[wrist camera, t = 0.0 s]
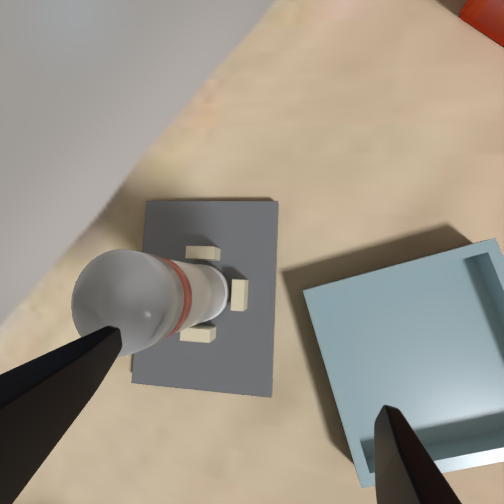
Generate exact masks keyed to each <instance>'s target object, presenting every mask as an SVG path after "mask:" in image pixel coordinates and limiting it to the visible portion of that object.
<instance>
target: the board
mask: <svg viewBox="0 0 504 504" xmlns="http://www.w3.org/2000/svg"><path fill="white" fill-rule="evenodd" d="M278 206H279V204H278V201H147V203H146V215H145V227H144V239H143V251H142V252H143V253H148V254H152V255H155V256H158V257H163V258H166V259H169V260H174V261H180V262H185V263H190V264H202V265H208V266H212V267H215V268H217V269H219V270H220V271H221V272H223V273H224V275H225V276H226V277H227V279H228V281H229V284H230V288H231V296H230V301H229V303H228V306H227V307H226V309H225V310H224V311H223V312H222V313H221V314H220V315H218V316H217V317H215V318H213V319H210V320H208V321H205V322H200V323H198V324H196V325H193V326H191V327H189V328H186V329H184V330H182V331H179V332H177V333H175V334H173V335H171V336H169V337H168V338H165V339H163V340H162V341H160V342H158V343H156V344H154V345H152V346H150V347H148V348H145V349H143V350H141V351H139V352H136V353H134V358H133V370H132V382H131V383H136V384H146V385H155V386H165V387H174V388H184V389H194V390H203V391H213V392H222V393H232V394H242V395H251V396H261V397H270V398H271V396H272V382H273V353H274V324H275V294H276V265H277V236H278Z"/></svg>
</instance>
